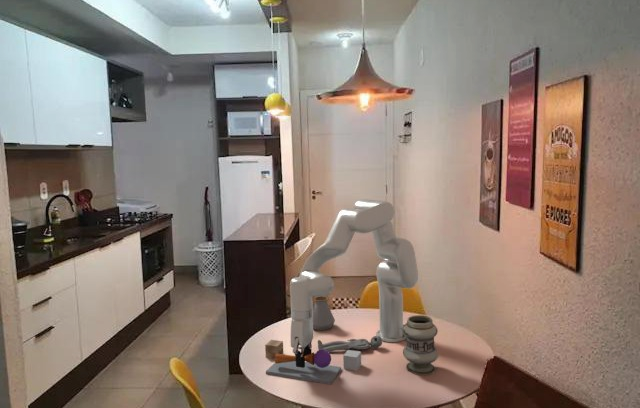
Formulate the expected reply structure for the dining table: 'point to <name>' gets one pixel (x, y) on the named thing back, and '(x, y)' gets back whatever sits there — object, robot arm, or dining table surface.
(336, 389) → the dining table surface
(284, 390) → the dining table surface
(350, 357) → the grey block
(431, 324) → the apothecary jar
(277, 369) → the charcoal mat
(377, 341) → the alien figure
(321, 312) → the coffee pot
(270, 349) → the walnut block
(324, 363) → the kendama
